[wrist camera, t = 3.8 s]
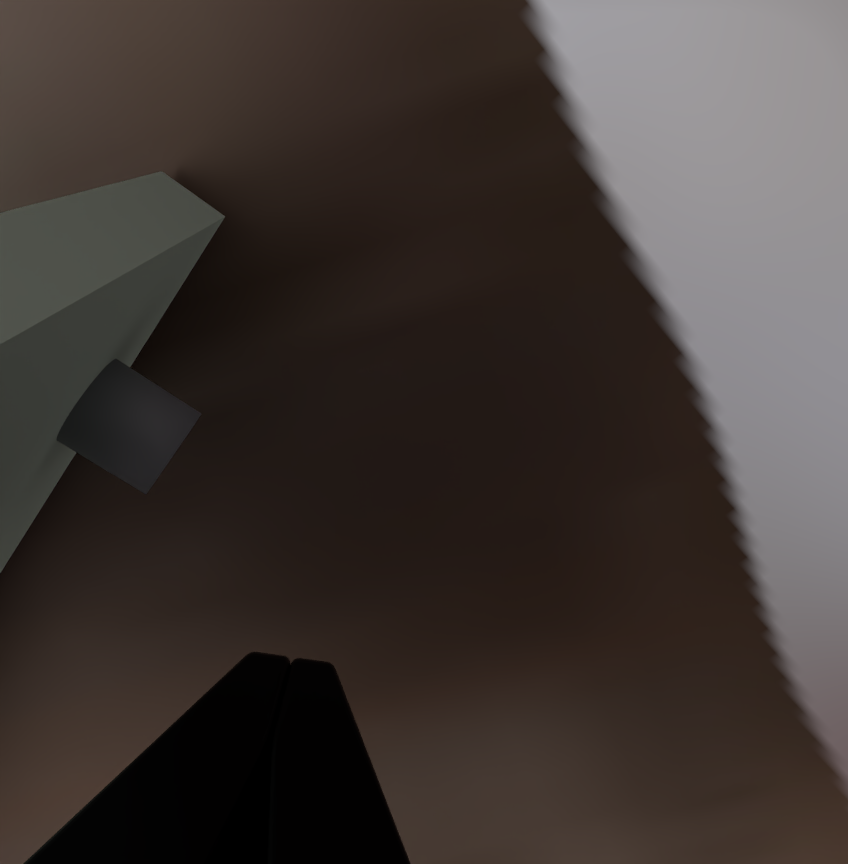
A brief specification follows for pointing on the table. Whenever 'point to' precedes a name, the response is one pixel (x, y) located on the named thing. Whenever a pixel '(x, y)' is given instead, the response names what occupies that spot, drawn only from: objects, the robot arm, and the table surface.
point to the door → (89, 336)
